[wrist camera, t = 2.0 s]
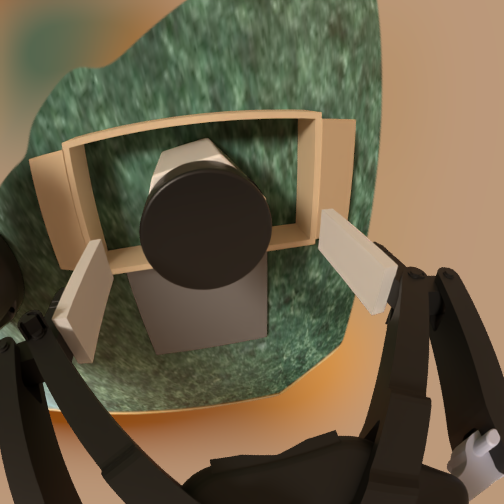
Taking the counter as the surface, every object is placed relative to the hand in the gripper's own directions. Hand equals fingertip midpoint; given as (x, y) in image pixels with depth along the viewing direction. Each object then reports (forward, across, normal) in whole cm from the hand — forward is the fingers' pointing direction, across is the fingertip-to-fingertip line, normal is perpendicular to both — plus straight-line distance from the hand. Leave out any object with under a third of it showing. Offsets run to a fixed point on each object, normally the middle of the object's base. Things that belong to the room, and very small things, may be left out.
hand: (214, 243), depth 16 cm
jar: (+13, -1, 0) cm, 13 cm away
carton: (+13, -1, 0) cm, 13 cm away
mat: (+13, -2, -15) cm, 20 cm away
